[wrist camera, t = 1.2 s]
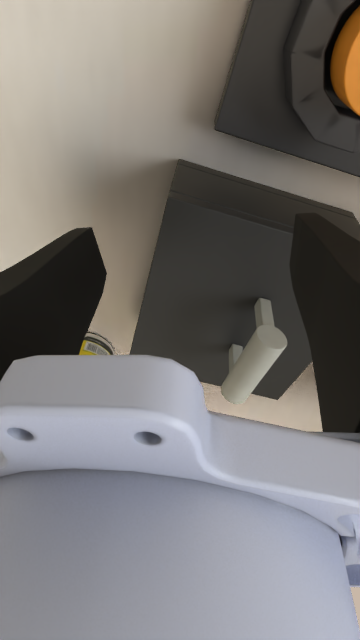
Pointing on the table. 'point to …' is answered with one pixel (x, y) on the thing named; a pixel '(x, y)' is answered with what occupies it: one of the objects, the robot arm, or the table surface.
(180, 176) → the dark grey lipped box
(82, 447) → the robot arm
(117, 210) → the table surface
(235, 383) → the lid
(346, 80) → the button
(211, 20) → the table surface
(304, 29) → the orange push button box
